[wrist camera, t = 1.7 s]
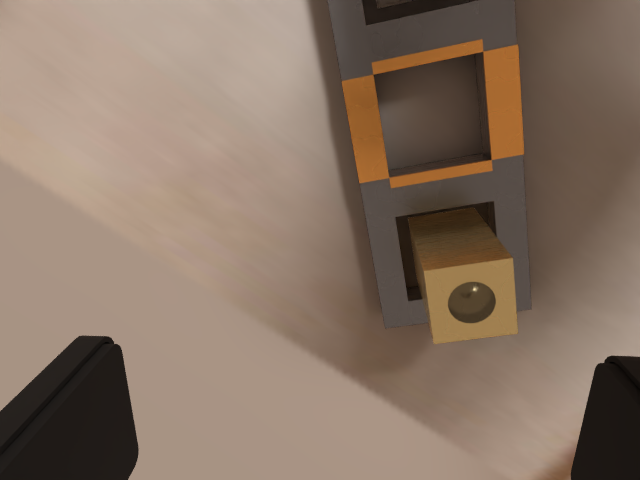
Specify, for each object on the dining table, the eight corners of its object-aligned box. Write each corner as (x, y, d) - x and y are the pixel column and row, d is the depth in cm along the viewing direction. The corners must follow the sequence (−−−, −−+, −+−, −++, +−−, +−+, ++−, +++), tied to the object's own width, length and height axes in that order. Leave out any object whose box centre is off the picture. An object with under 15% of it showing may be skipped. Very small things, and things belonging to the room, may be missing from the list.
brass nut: (473, 207, 29) (513, 258, 21) (479, 266, 30) (518, 333, 23) (407, 217, 29) (423, 271, 22) (416, 275, 31) (433, 344, 23)
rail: (493, -173, 22) (505, -194, 20) (522, 295, 31) (532, 310, 29) (307, -122, 24) (303, -137, 22) (383, 314, 32) (385, 330, 30)
